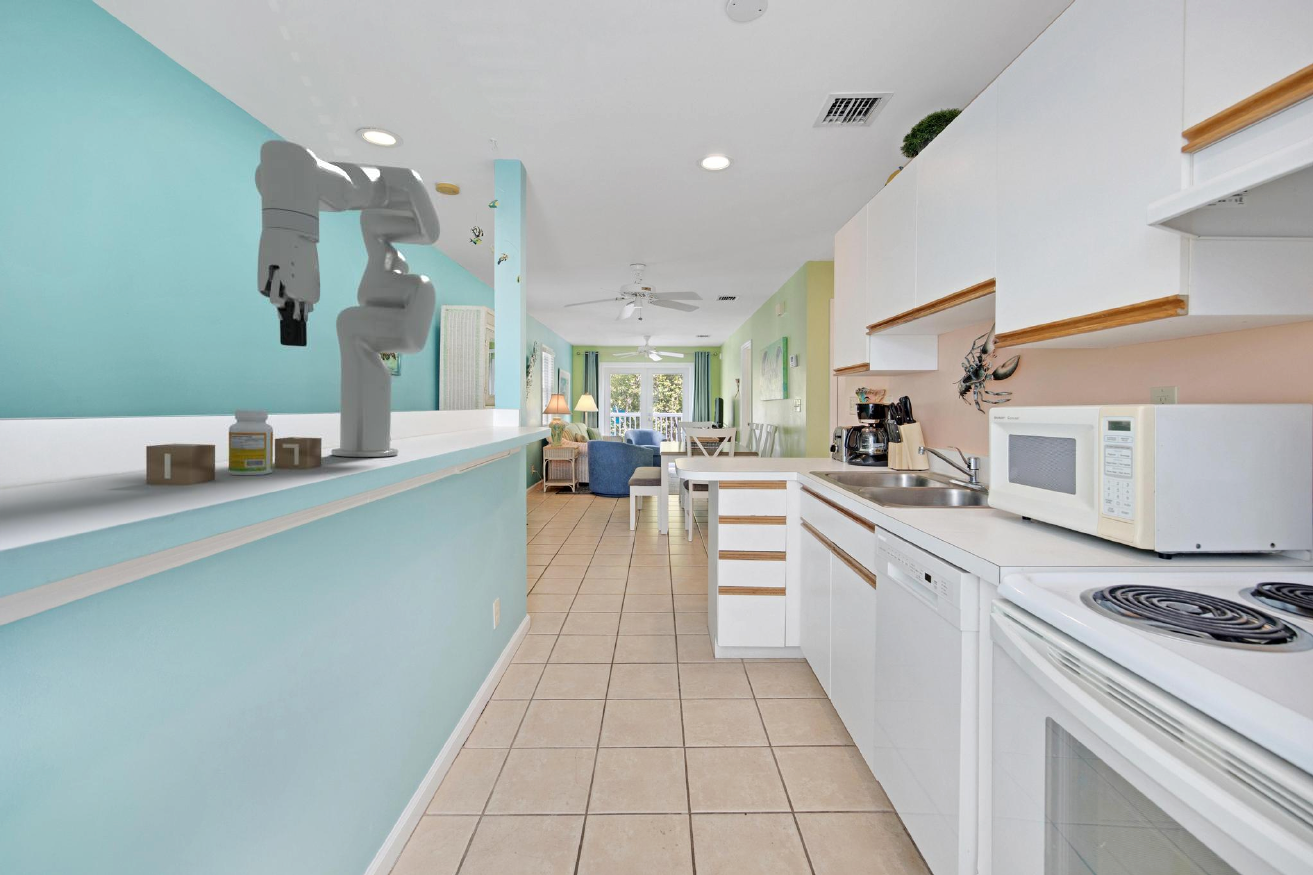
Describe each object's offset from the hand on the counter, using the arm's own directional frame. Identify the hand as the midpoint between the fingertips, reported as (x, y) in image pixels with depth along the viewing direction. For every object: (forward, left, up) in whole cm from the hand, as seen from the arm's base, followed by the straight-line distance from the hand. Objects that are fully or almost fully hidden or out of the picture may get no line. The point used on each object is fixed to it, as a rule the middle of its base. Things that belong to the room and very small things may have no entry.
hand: (293, 345), depth 88 cm
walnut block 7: (-5, -1, -20) cm, 21 cm away
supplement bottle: (+5, -3, -21) cm, 21 cm away
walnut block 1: (+15, -6, -20) cm, 26 cm away
